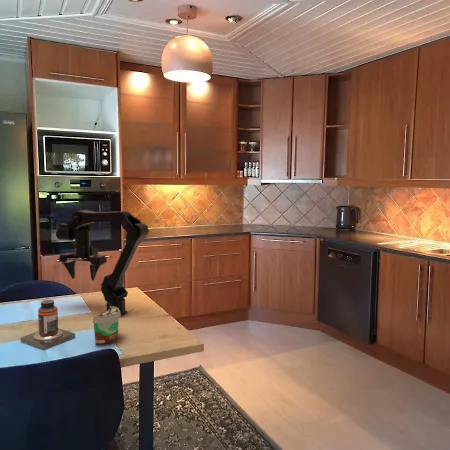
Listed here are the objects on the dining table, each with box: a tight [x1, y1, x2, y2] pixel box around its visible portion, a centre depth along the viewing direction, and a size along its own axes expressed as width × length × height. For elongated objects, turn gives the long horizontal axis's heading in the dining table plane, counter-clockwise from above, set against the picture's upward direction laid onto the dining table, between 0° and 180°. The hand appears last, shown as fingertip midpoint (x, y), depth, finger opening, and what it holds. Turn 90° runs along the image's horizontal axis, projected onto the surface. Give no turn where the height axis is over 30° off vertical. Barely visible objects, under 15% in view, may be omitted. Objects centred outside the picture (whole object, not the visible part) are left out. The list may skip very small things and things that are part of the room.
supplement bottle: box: [37, 299, 59, 337], centre depth 136 cm, size 6×6×11 cm
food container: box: [92, 306, 122, 346], centre depth 137 cm, size 12×6×10 cm, turn 168°
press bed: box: [20, 327, 76, 351], centre depth 137 cm, size 12×12×2 cm
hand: (83, 279), depth 166 cm, fingers open, 9 cm apart
